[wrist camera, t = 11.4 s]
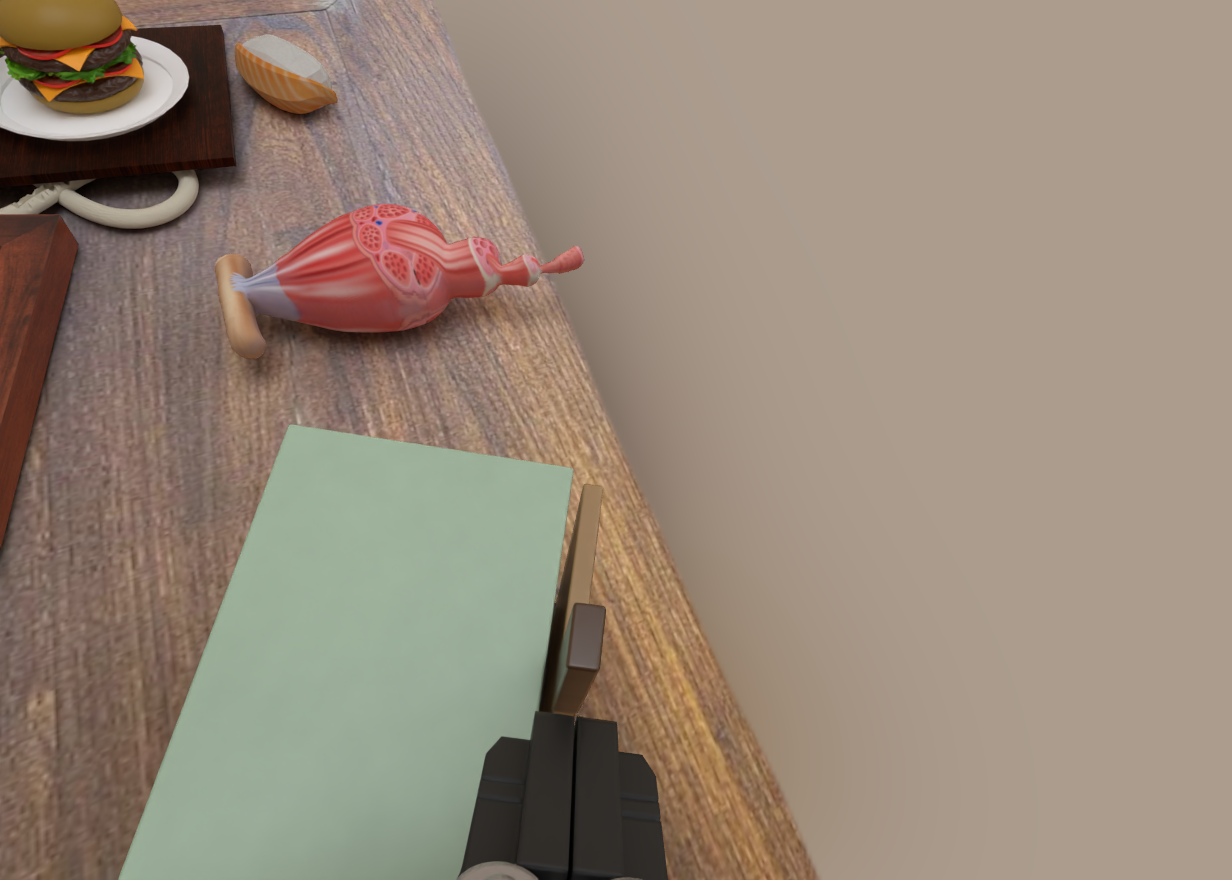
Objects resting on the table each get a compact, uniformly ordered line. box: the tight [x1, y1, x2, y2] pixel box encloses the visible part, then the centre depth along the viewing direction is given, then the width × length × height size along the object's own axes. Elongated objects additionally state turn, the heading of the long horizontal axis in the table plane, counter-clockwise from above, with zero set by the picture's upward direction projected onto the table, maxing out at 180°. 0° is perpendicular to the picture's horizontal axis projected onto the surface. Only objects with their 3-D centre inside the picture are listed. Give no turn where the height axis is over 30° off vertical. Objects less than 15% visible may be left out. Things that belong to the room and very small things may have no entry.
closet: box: [118, 425, 573, 880], centre depth 21 cm, size 8×11×11 cm
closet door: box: [540, 484, 606, 716], centre depth 20 cm, size 1×6×14 cm, turn 174°
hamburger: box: [0, 0, 236, 188], centre depth 35 cm, size 12×12×6 cm
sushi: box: [235, 34, 338, 114], centre depth 39 cm, size 3×6×3 cm
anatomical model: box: [215, 204, 584, 359], centre depth 32 cm, size 15×5×6 cm
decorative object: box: [0, 170, 199, 229], centre depth 34 cm, size 11×1×5 cm
